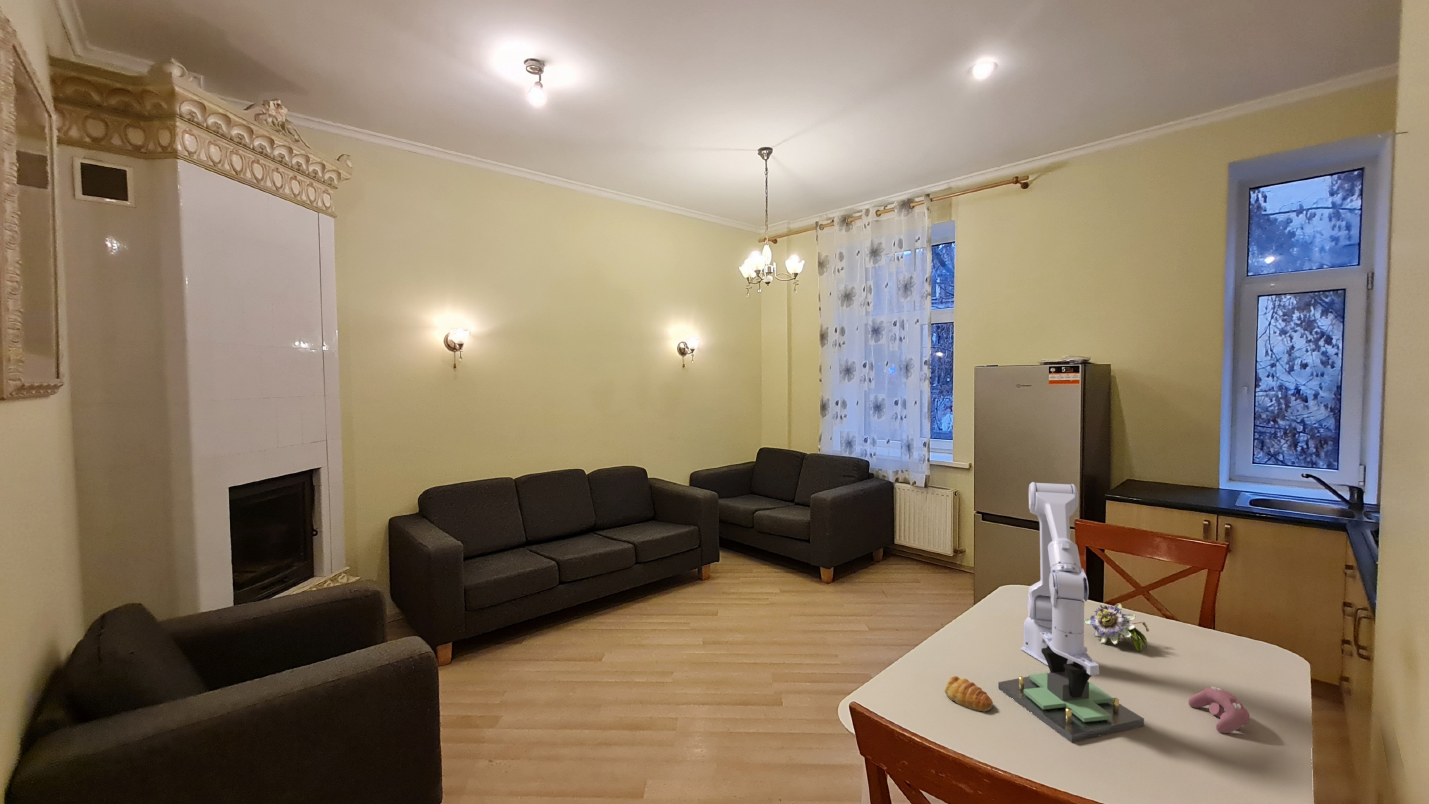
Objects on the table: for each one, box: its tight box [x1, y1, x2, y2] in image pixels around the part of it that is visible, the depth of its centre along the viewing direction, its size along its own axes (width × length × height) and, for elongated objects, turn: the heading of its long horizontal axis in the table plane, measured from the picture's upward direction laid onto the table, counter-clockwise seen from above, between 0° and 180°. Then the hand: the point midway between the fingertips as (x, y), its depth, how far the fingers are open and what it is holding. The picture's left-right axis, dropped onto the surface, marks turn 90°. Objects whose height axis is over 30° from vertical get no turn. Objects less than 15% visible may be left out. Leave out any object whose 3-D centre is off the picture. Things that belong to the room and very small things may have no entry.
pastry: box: [944, 675, 994, 712], centre depth 121 cm, size 9×7×4 cm
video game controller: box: [1187, 685, 1251, 734], centre depth 113 cm, size 10×5×7 cm, turn 169°
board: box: [1024, 672, 1114, 722], centre depth 118 cm, size 16×16×4 cm
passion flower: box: [1084, 602, 1150, 653], centre depth 145 cm, size 11×11×12 cm
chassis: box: [997, 671, 1145, 743], centre depth 118 cm, size 19×18×4 cm
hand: (1067, 689), depth 118 cm, fingers closed on board, 4 cm apart
